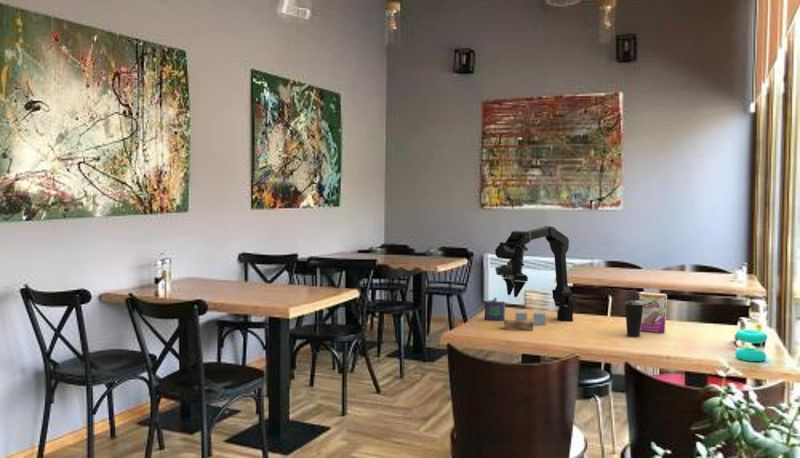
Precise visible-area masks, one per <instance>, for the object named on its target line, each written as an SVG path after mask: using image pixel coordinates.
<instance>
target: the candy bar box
mask: <svg viewBox="0 0 800 458" xmlns="http://www.w3.org/2000/svg"><path fill="white" fill-rule="evenodd" d="M667 299H668V295H667V294H666V293H657V292H656V293H655V292H646V291H645V292H644V291H640V292H639V293H638V301H640V302H642V303H644V305H643V312H642V320H641V328H640V332H646V333H656V334H665V332H666V324H667V323H666V321H667V320H666V319H667V302H668V301H667Z"/></svg>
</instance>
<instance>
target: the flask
mask: <svg viewBox="0 0 800 458" xmlns="http://www.w3.org/2000/svg"><path fill="white" fill-rule="evenodd" d="M505 313H506V302H505V301H504V300H503V301H502V300H498V298H497V297H493V299H489V300H485V301H484V321H491V322H493V321H494V322H496V321H497V322H499V321H500V322H504V320H506V319H505V318H506V317H505V316H506V314H505Z"/></svg>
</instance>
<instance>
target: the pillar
mask: <svg viewBox="0 0 800 458" xmlns="http://www.w3.org/2000/svg"><path fill="white" fill-rule="evenodd" d="M533 323H534V325H533V326H538V325H543V326H542V327H545V324H546V312H543V311H533Z"/></svg>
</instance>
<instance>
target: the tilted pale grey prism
mask: <svg viewBox="0 0 800 458" xmlns="http://www.w3.org/2000/svg"><path fill="white" fill-rule="evenodd" d="M514 320H526V321H528V311H521V310H516V311H515V319H514Z"/></svg>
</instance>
